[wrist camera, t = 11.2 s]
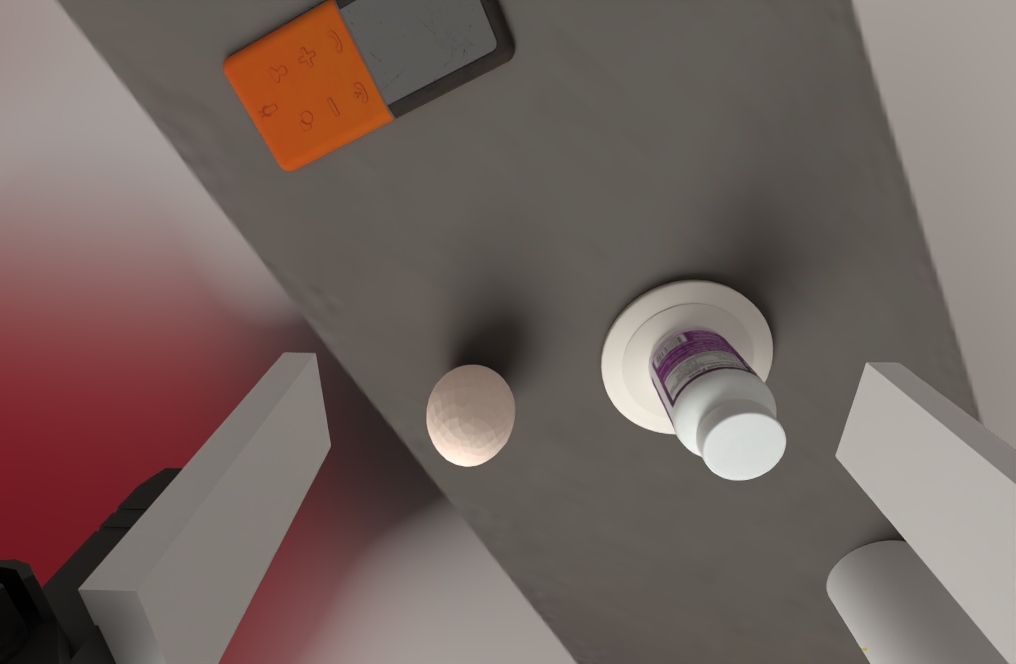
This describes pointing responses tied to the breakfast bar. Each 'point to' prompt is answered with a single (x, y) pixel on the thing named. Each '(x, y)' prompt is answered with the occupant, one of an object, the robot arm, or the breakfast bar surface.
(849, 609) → the white upright cylinder
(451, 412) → the egg
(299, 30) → the phone
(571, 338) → the breakfast bar surface
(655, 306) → the saucer
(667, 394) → the pill bottle
